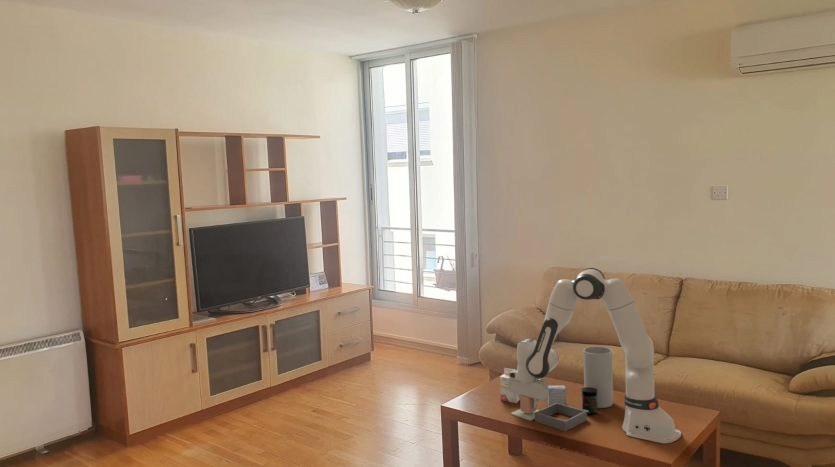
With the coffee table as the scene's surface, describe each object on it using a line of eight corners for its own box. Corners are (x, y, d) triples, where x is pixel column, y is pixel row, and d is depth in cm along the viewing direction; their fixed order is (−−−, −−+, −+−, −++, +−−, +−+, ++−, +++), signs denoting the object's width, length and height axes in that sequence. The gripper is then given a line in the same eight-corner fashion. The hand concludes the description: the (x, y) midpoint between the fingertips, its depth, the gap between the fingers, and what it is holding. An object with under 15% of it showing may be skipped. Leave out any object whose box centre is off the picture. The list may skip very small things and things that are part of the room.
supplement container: (600, 412, 273) (600, 389, 272) (593, 416, 268) (593, 393, 267) (586, 408, 278) (585, 386, 277) (579, 413, 273) (578, 390, 272)
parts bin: (586, 420, 265) (586, 411, 264) (565, 431, 254) (565, 421, 254) (556, 411, 276) (556, 402, 276) (535, 421, 266) (534, 412, 266)
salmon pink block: (536, 410, 274) (536, 395, 273) (529, 413, 271) (529, 398, 270) (527, 407, 278) (527, 392, 277) (520, 410, 274) (520, 395, 274)
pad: (546, 413, 274) (546, 412, 274) (530, 420, 267) (530, 419, 267) (526, 407, 282) (526, 406, 282) (511, 414, 275) (511, 413, 275)
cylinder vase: (618, 404, 281) (618, 350, 279) (601, 410, 274) (599, 355, 272) (596, 396, 292) (595, 345, 289) (579, 403, 285) (577, 350, 282)
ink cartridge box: (500, 400, 293) (498, 370, 291) (504, 397, 297) (503, 367, 296) (516, 403, 288) (515, 372, 287) (521, 399, 292) (520, 369, 291)
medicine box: (565, 403, 285) (564, 385, 284) (566, 407, 281) (566, 388, 280) (547, 403, 286) (547, 385, 285) (548, 407, 282) (548, 388, 281)
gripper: (551, 378, 267) (552, 409, 268) (514, 369, 282) (515, 398, 284) (542, 382, 263) (543, 413, 264) (505, 372, 278) (506, 402, 279)
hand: (528, 405), depth 274 cm, fingers closed on salmon pink block, 5 cm apart
